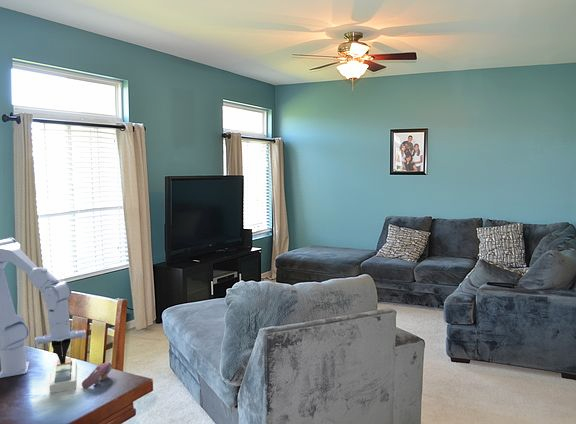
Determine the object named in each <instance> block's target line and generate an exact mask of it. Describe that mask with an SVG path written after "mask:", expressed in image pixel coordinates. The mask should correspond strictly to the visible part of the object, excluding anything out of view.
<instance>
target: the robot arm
mask: <svg viewBox="0 0 576 424" xmlns="http://www.w3.org/2000/svg"><path fill="white" fill-rule="evenodd" d="M9 262H10V263H12V265H15V267H17V268H18V269H19V270H21V271H22V272H24V273H25V274H26V275H28V282H29V283H31V284H32V285H33V286H34V287H35V288H36V289H37V290H38V291H39V292H40V293H42V294H41V296H42V299H43V302H44V303H45V305H46V309H47V310H48V322H49V324H48V325H49V331H50V332H49V334H45V335H42V336H41V335H40V336H36V337H34V346H39V345H43V344H49V343H51V348H52V349H53V350H54V352H55V353H56V356H57V358H58V360H60V364H65V359H66V357H67V353H68V350H69V347H70V345H71V340H74V339H86V338H87V334H86V333H87V332H86V330H85V329H83V330H71V324H70V322H71V321H70V313H69V301H68V300H69V298H70V297H71V295H72V288H71V286H70V284H69V283H68V282H67V281H65V280H60V279H57V278H56V277H55V276H54V275H53V274H51V273H50V272H49V271H48V269H47V268H45V267H43V266H41V267H40V266H39V267H38V266H37V265H36V264H35V263H34V262H33V261H32V260H31V258H29V257H28V255H27V254H25V252H24V251H22V245H21V243H19V242H18V241H17V240H16V239H15V238H14V237H7V238H3V239H0V367H1V370H0V379H2V378H8V377H12V376H19V375H23V374H25V375H26V374H27V373H28V370H29V366H30V361H27V357H26V346H25V344H26V343H27V338H29V336H30V329H29V326H28V324H27V323H26V322H25V318H24V317H23V316H21V315H19V314H16V309H15V306H14V303H13V298H12V295H11V291H10V288H9V285H8V280H7V277H6V273H5V269H4V268H5V267H6V266H7V264H8V263H9Z"/></svg>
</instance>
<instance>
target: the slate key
mask: <svg viewBox="0 0 576 424" xmlns="http://www.w3.org/2000/svg"><path fill="white" fill-rule="evenodd" d="M68 380H70V371H66V372H60V373H56V376H55V382H56V383H57V382H62V381H68Z"/></svg>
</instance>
